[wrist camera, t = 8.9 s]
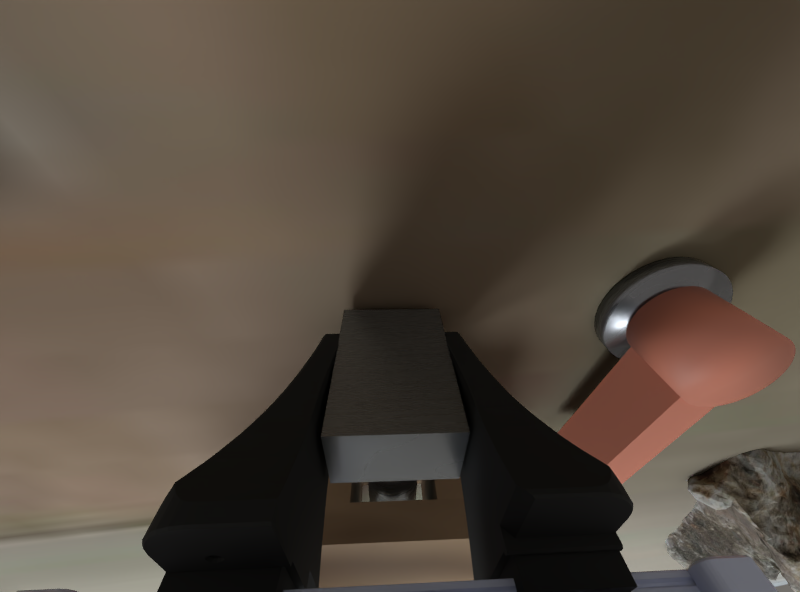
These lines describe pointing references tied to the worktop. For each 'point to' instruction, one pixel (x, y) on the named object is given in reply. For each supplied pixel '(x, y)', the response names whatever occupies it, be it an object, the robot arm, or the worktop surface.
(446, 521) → the eye block
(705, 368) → the latch lever
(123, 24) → the worktop surface
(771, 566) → the rock
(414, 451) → the bolt
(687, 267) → the lever base
